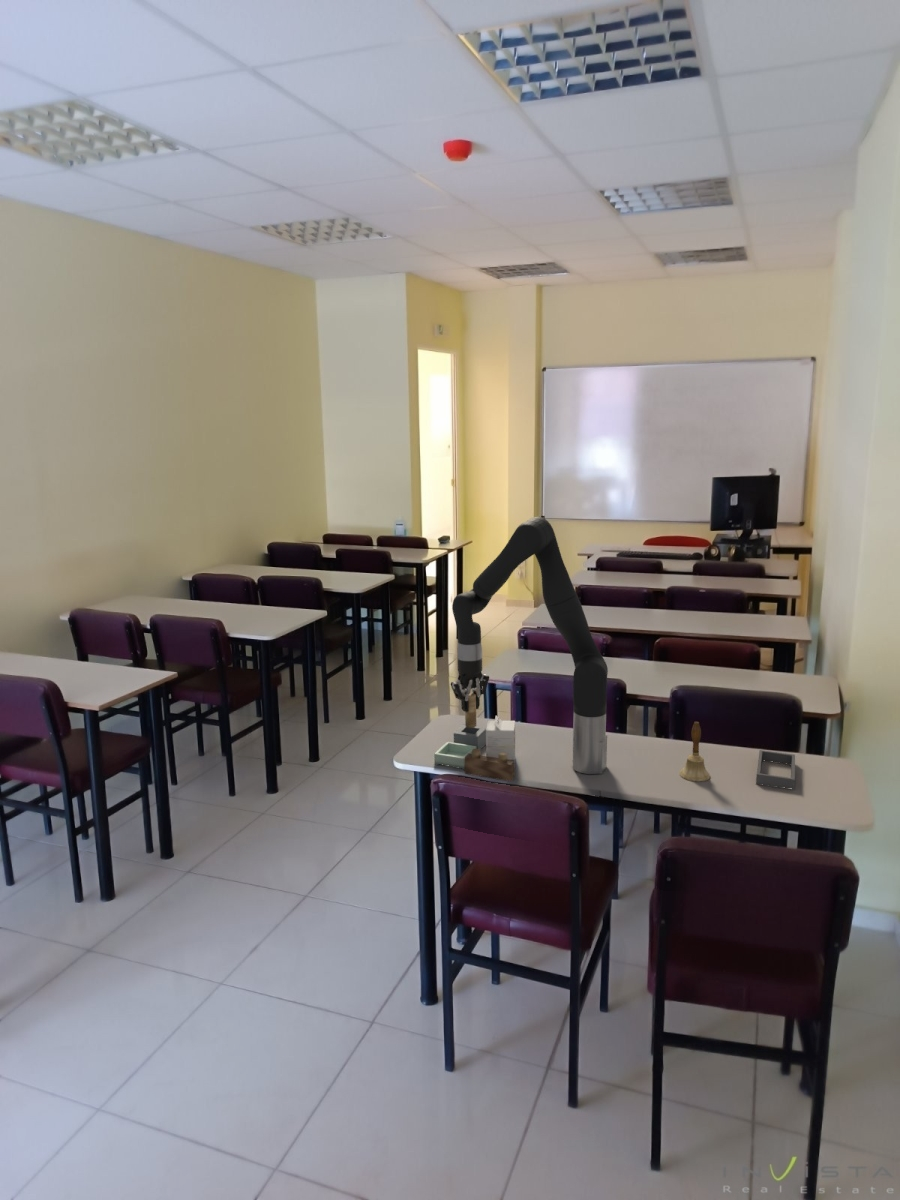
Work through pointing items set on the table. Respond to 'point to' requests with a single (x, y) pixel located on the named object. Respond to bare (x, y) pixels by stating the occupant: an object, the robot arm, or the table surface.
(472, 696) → the dowel
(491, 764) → the peg rack
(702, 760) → the hand bell
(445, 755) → the tray
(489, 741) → the ink box
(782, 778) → the frame
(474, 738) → the socket block
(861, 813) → the table surface
